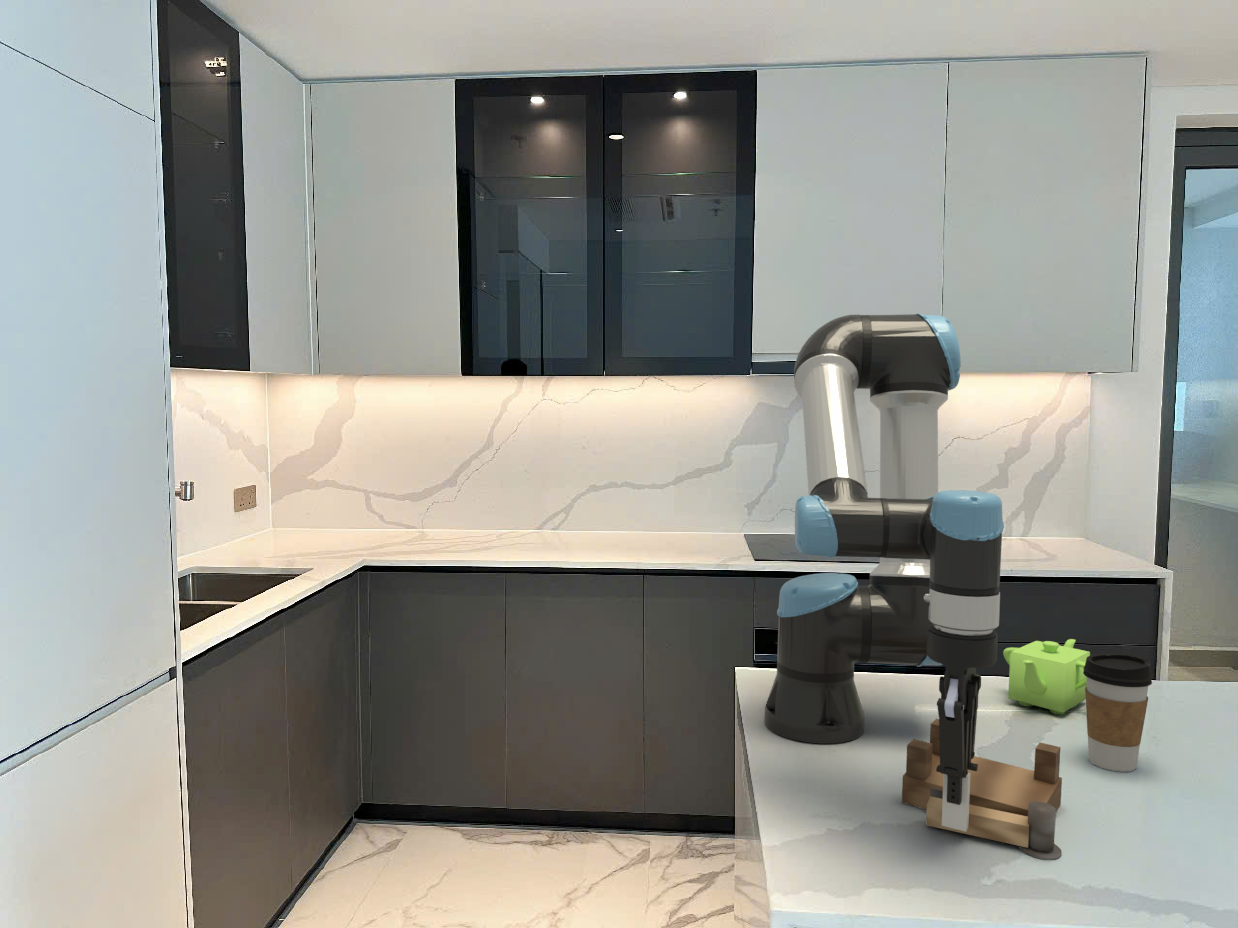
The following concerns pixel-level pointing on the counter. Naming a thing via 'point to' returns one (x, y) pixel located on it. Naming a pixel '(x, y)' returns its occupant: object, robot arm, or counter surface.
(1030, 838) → the hinged leg
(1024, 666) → the teapot
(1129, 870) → the counter surface
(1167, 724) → the counter surface
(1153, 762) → the counter surface
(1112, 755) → the coffee cup
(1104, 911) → the counter surface
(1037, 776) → the stool top
